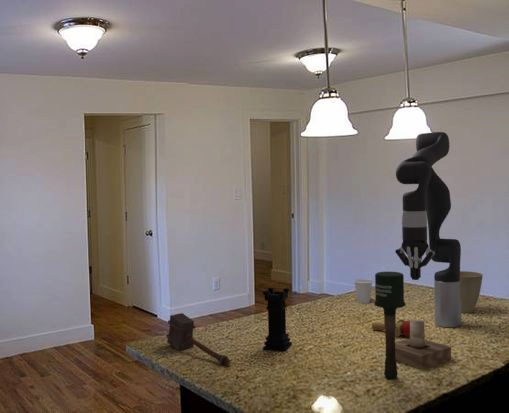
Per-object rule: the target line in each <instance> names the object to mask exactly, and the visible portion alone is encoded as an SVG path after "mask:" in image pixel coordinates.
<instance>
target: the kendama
mask: <svg viewBox="0 0 509 413" xmlns="http://www.w3.org/2000/svg"><path fill="white" fill-rule="evenodd" d="M371 327H372V328H371V329H372V330H373V331H385V325H384V322H383V323H382V322H376V321H373V322H372V323H371ZM401 335H403V336H405V338H407V339H409V338H410V320H406V319H404V318H403V319H402V318H401V319H399V320H398V321H397V323H396V327H395V338H398V337H400V336H401Z"/></svg>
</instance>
